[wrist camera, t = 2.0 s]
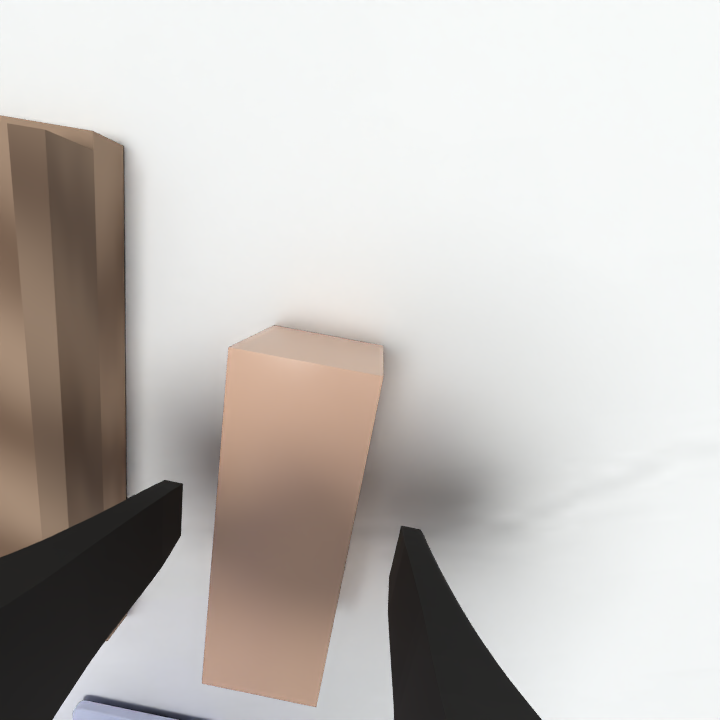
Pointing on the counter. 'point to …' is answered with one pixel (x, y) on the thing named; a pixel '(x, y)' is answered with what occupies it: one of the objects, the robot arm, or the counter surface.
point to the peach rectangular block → (286, 506)
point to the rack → (60, 329)
